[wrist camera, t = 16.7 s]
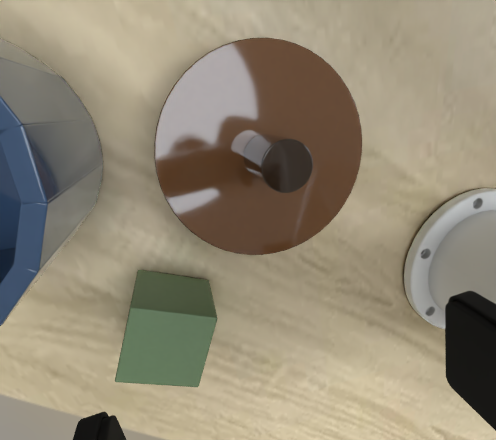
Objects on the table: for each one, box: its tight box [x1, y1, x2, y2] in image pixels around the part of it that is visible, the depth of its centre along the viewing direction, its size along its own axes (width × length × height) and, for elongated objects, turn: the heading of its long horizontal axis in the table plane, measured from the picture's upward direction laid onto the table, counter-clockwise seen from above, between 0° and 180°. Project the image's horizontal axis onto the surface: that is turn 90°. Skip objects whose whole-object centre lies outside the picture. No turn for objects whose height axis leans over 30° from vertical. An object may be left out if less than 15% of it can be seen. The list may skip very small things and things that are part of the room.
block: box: [115, 270, 217, 387], centre depth 22 cm, size 5×5×5 cm
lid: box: [155, 38, 362, 255], centre depth 20 cm, size 14×14×6 cm
